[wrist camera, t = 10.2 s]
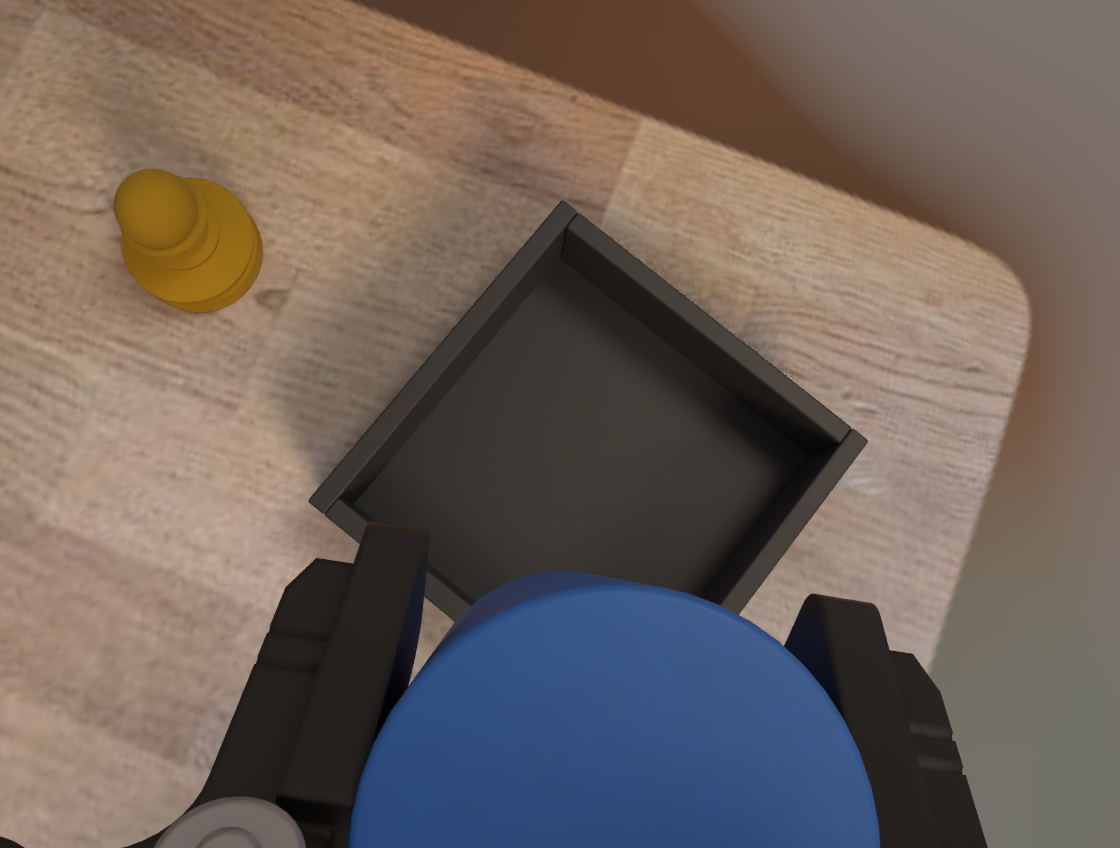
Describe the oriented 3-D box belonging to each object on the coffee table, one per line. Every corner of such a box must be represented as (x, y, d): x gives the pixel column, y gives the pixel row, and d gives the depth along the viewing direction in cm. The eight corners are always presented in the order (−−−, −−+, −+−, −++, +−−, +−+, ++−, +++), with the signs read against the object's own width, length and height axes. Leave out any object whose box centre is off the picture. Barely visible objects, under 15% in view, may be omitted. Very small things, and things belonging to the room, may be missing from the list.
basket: (828, 453, 31) (869, 440, 27) (613, 738, 29) (628, 763, 26) (556, 238, 31) (562, 198, 28) (330, 507, 30) (307, 500, 26)
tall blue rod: (751, 687, 16) (988, 811, 8) (581, 914, 16) (664, 1283, 8) (541, 515, 16) (579, 475, 9) (364, 732, 16) (227, 909, 8)
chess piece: (194, 338, 30) (133, 296, 25) (110, 249, 30) (34, 190, 25) (289, 255, 31) (248, 198, 26) (206, 169, 31) (149, 95, 26)
